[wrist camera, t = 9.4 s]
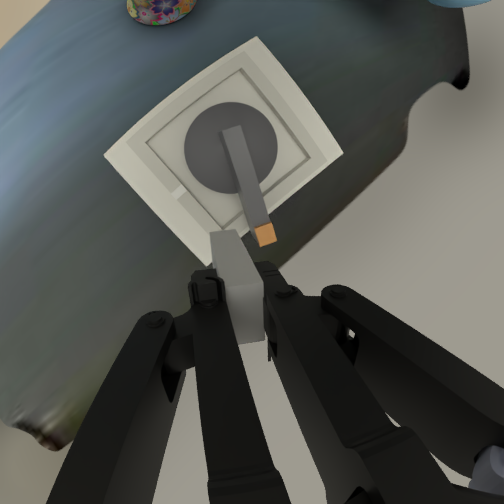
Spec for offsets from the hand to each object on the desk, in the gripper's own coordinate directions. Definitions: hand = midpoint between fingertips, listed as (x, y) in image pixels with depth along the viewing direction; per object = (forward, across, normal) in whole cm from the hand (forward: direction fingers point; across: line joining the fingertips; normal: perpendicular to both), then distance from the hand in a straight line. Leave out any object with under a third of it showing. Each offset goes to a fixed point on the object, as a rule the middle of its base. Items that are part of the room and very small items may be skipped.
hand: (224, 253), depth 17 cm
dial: (+17, +4, +3) cm, 17 cm away
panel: (+18, +3, +5) cm, 19 cm away
